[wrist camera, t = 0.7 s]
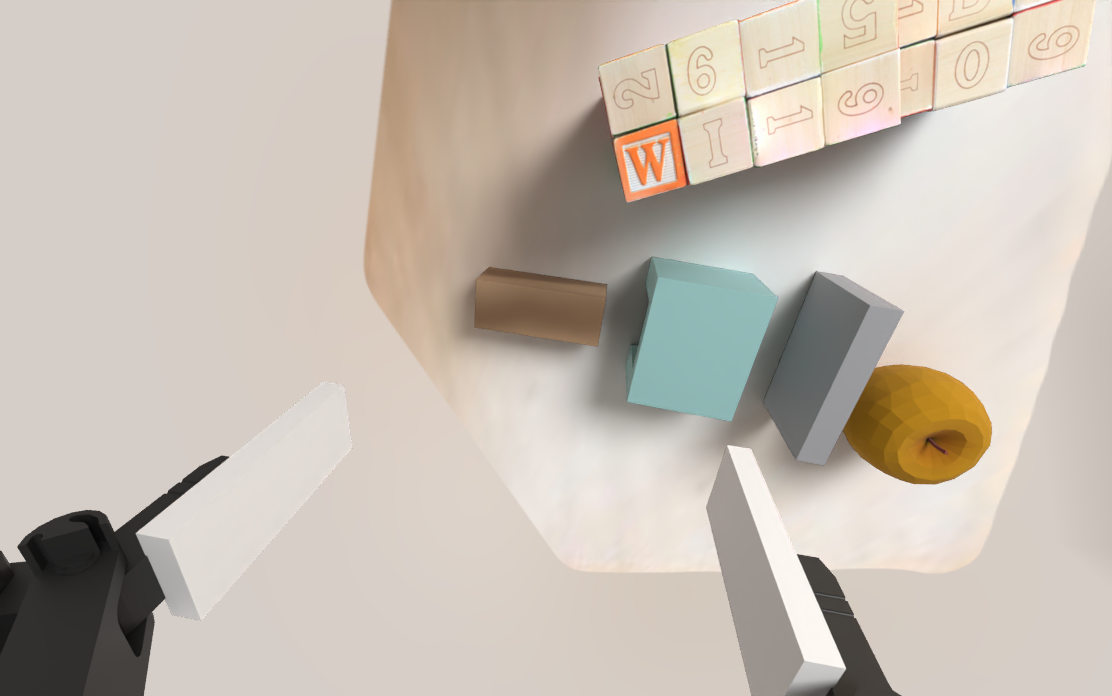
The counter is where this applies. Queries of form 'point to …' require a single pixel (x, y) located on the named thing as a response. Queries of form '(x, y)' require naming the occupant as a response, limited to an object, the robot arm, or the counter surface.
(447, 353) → the counter surface
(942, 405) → the apple
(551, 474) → the counter surface
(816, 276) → the wall
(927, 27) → the stack of blocks
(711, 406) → the block
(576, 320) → the brown wooden bar
